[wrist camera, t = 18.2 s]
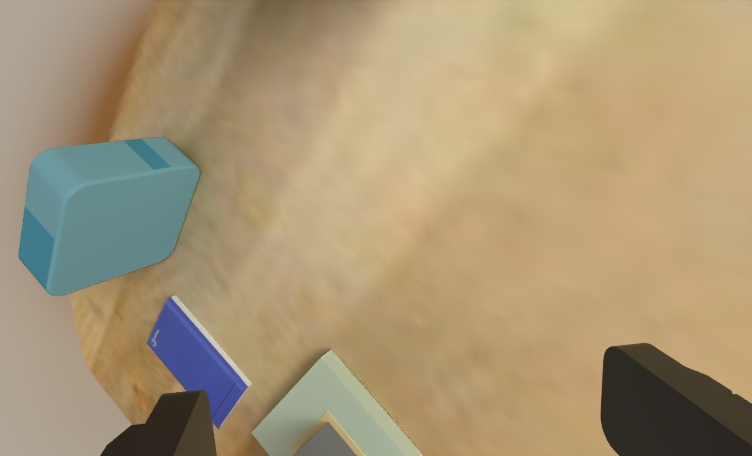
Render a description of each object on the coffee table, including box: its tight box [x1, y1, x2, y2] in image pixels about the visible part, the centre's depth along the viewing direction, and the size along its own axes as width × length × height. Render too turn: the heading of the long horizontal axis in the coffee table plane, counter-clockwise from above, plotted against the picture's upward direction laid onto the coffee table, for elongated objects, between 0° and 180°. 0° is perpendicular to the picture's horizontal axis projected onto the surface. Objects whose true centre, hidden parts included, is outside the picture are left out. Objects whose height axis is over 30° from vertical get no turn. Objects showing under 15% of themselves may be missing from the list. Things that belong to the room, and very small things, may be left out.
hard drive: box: [147, 295, 252, 429], centre depth 51 cm, size 2×8×12 cm
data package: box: [19, 137, 200, 296], centre depth 42 cm, size 12×4×12 cm, turn 148°
